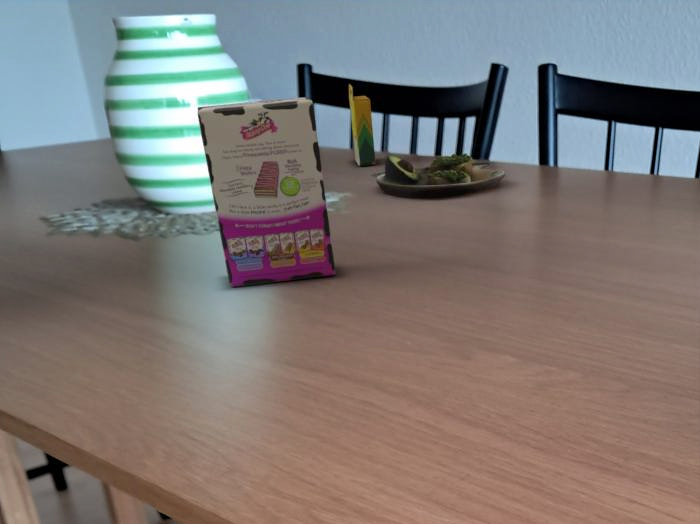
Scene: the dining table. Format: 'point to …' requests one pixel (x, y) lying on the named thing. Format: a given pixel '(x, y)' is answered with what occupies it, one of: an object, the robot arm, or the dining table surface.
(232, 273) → the candy bar box
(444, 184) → the salad plate
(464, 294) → the dining table surface
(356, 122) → the crayon box
